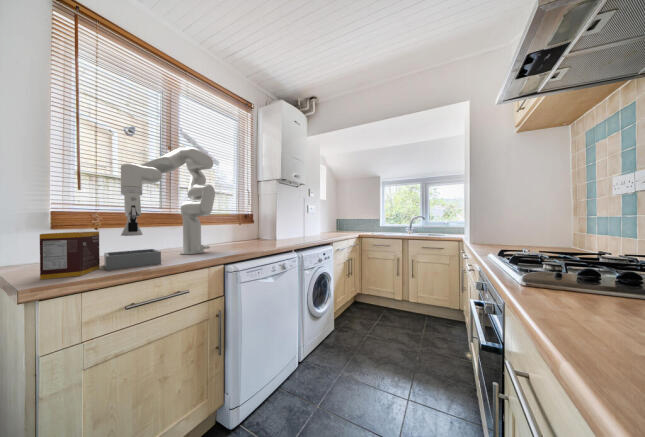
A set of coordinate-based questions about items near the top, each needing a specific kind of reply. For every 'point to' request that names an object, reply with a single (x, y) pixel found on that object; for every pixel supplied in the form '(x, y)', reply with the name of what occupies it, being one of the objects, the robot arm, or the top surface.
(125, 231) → the flask
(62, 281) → the top surface
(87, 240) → the supplement box
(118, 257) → the bin
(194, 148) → the robot arm
